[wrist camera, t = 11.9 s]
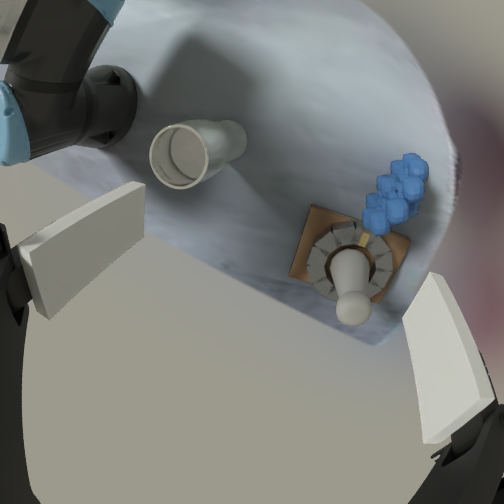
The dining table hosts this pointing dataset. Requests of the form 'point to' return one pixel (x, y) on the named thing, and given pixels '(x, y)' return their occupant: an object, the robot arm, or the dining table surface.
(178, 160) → the beer glass
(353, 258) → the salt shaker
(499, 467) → the robot arm
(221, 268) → the dining table surface
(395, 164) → the grapes
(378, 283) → the grey segmented ring
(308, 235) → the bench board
